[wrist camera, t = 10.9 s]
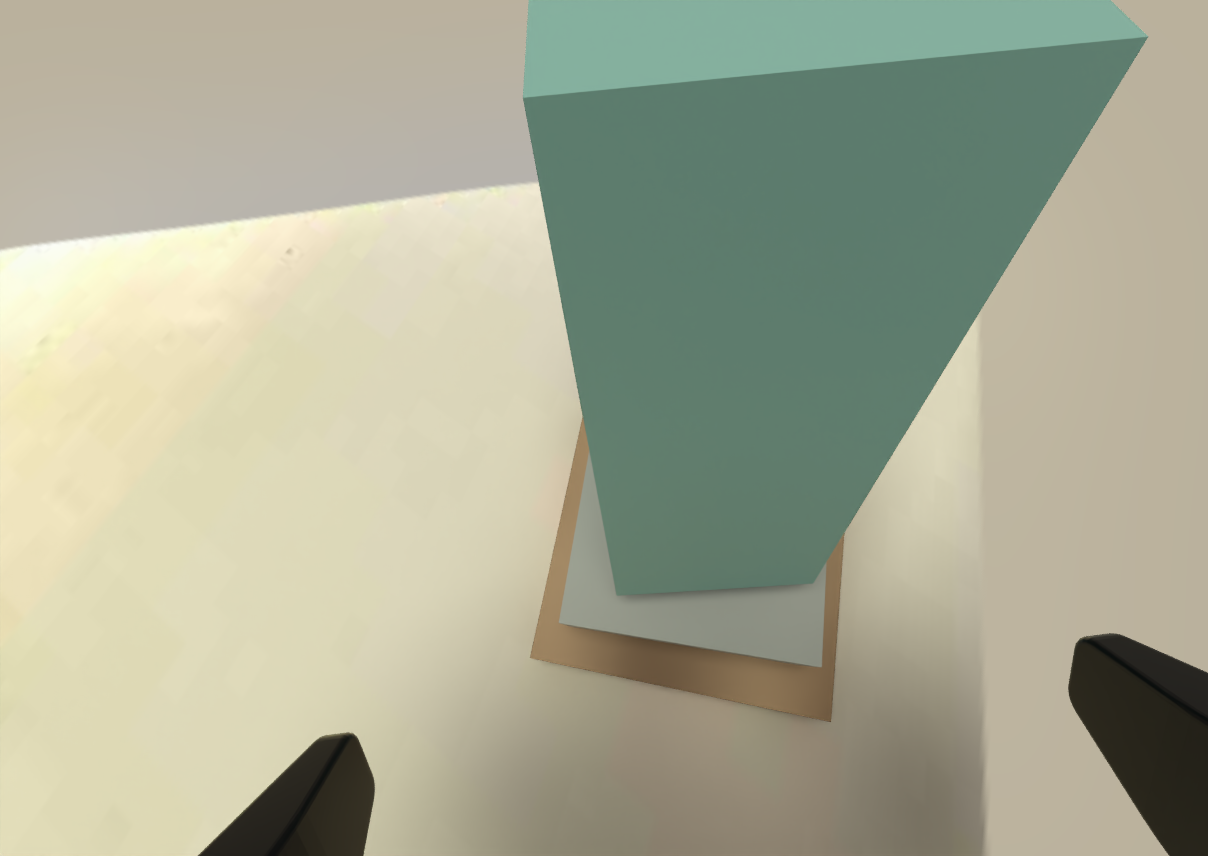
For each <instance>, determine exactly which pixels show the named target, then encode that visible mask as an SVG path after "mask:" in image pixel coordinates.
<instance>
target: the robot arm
mask: <svg viewBox="0 0 1208 856" xmlns="http://www.w3.org/2000/svg"><path fill="white" fill-rule="evenodd" d="M1068 690H1069V697H1070V700H1071V703H1072V705H1073V707H1074V709H1075V711H1076V713H1077V714H1078V716H1079V718H1080V719H1081V721H1082V722H1083V724H1084V725H1085V727H1086V729H1087V730H1088V732H1089V733H1090V735H1091V737H1092V738H1093V740H1094V741H1095V743H1096V744H1097V746H1098V748H1099V749H1100V751H1101V752H1102V754H1103V755H1104V757H1105V759H1106V760H1107V762H1108V763H1109V765H1110V766H1111V768H1112V770H1113V771H1114V773H1115V774H1116V776H1117V778H1118V779H1119V781H1120V782H1121V784H1122V786H1123V787H1124V789H1125V790H1126V792H1127V793H1128V795H1129V797H1130V798H1131V800H1132V801H1133V803H1134V804H1135V806H1136V808H1137V809H1138V811H1139V812H1140V814H1141V815H1142V817H1143V819H1144V820H1145V821H1146V823H1147V825H1148V826H1149V828H1150V829H1151V831H1152V832H1153V834H1154V835H1155V836H1156V838H1157V839H1158V841H1159V842H1160V844H1161V845H1162V846H1163V848H1164V849H1165V851H1166V852H1167V853H1168V855H1169V856H1208V673H1207V672H1204V671H1203V670H1200V669H1198V668H1196V667H1193V666H1191V665H1189V664H1187V663H1184V662H1182V661H1180V660H1178V659H1175V658H1173V657H1171V656H1168V655H1166V654H1164V653H1161V652H1159V651H1157V650H1155V649H1153V648H1150V647H1148V646H1146V645H1144V644H1141V643H1139V642H1137V641H1134V640H1132V639H1130V638H1127V637H1125V636H1122V635H1120V634H1111V633H1109V634H1102V635H1094V636H1086V637H1083V638H1080V639H1079V641H1078V642H1077V643H1076V645H1075V649H1074V655H1073V662H1072V667H1071V674H1070V679H1069V686H1068ZM374 794H375V783H374V778H373V774H372V772H371V769H370V767H369V764H368V762H367V759H366V757H365V754H364V752H363V749H362V747H361V744H360V742H359V740H358V738H357V736H355V735H354V734H353V733H349V732H348V733H340V734H333V735H325V736H322V737H320V738H319V739H317V740H316V741H315V742H314V743H313V744H312V745H311V746H310V747H309V748H308V749H307V750H305V751H304V752H303V753H302V754H301V755H300V756H299V757H298V758H297V759H296V760H295V761H294V762H293V763H292V764H291V765H290V766H289V767H288V768H287V769H286V770H285V771H284V772H283V773H282V774H281V775H280V776H279V777H278V778H277V779H276V780H275V781H274V782H273V783H272V784H271V785H270V786H269V787H268V788H267V789H266V790H265V791H264V792H262V793H261V794H260V795H259V796H258V797H257V798H256V799H255V800H254V801H253V802H252V803H251V804H250V805H249V806H248V807H247V808H246V809H245V810H244V811H243V812H242V813H241V814H240V815H239V816H238V817H237V818H236V819H235V820H234V821H233V822H232V823H231V824H230V825H229V826H228V827H227V828H226V829H225V830H224V831H223V832H222V833H221V834H219V835H218V836H217V837H216V838H215V839H214V840H213V841H212V842H211V843H210V844H209V845H208V846H207V847H206V848H205V849H204V850H203V851H202V852H201V853H200V854H199V855H198V856H363V855H364V849H365V844H366V839H367V833H368V828H369V823H370V817H371V812H372V806H373V801H374Z"/></svg>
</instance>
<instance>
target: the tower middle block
mask: <svg viewBox="0 0 1208 856" xmlns="http://www.w3.org/2000/svg"><path fill="white" fill-rule="evenodd" d="M826 563H827V562H826ZM826 563H825V565H824V567H823V568H822V570H821V572H820V573H819V575H818V576H817V578H816V580H815V581H814V583H813V584H797V585H781V586H765V587H749V588H732V589H716V590H700V591H684V592H668V593H652V594H636V595H620V596H617V595H616V590H615V584H614V579H613V574H612V568H611V563H610V558H609V552H608V547H607V542H606V537H605V531H604V526H603V521H602V515H601V510H600V505H599V499H598V494H597V489H596V483H595V478H594V473H593V467H592V462H591V457H590V451H589V455H588V460H587V466H586V472H585V477H584V483H583V488H582V494H581V500H580V505H579V511H578V517H577V522H576V528H575V534H574V539H573V545H572V550H571V556H570V562H569V567H568V573H567V579H566V584H565V590H564V596H563V601H562V607H561V612H560V618H559V623H560V624H564V625H567V626H571V627H576V628H582V629H588V630H594V631H600V632H606V633H612V634H618V635H624V636H630V637H635V638H641V639H647V640H653V641H659V642H665V643H671V644H677V645H683V646H689V647H695V648H700V649H706V650H712V651H718V652H724V653H730V654H736V655H742V656H748V657H754V658H759V659H765V660H771V661H777V662H783V663H789V664H795V665H801V666H811V667H822V651H823V629H824V607H825V585H826Z"/></svg>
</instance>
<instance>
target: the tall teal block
mask: <svg viewBox="0 0 1208 856" xmlns="http://www.w3.org/2000/svg"><path fill="white" fill-rule="evenodd" d="M1147 38H1148V36H1147V35H1146V34H1145V33H1144V32H1143V31H1142V30H1141V29H1140V28H1139V27H1138V26H1137V25H1135V23H1134V22H1132V21H1131V20H1130V19H1129V18H1128V17H1127V16H1126V15H1125V14H1124V13H1123V12H1122V11H1121V10H1120V9H1119V8H1118V7H1117V6H1116V5H1115V4H1114V3H1113V2H1112V1H1111V0H529V5H528V22H527V39H526V56H525V73H524V89H523V100H524V105H525V111H526V116H527V122H528V127H529V132H530V138H531V143H532V148H533V154H534V159H535V164H536V170H537V175H538V180H539V186H540V191H541V196H542V202H543V207H544V212H545V217H546V223H547V228H548V233H549V239H550V244H551V249H552V255H553V260H554V265H555V271H556V276H557V281H558V287H559V292H560V297H561V303H562V308H563V313H564V319H565V324H566V329H567V334H568V340H569V345H570V350H571V356H572V361H573V366H574V372H575V377H576V382H577V388H578V393H579V398H580V404H581V409H582V414H583V420H584V425H585V430H586V435H587V441H588V446H589V451H590V457H591V462H592V467H593V473H594V478H595V483H596V489H597V494H598V499H599V505H600V510H601V515H602V521H603V526H604V531H605V537H606V542H607V547H608V552H609V558H610V563H611V568H612V574H613V579H614V584H615V590H616V595H617V596H620V595H636V594H652V593H668V592H684V591H700V590H716V589H732V588H749V587H765V586H781V585H797V584H813V583H814V581H815V580H816V578H817V576H818V575H819V573H820V572H821V570H822V568H823V567H824V565H825V563H826V562H827V560H828V558H829V557H830V555H831V554H832V552H833V550H834V549H835V547H836V545H837V544H838V542H839V541H840V539H841V537H842V536H843V534H844V532H845V531H846V529H847V527H848V526H849V524H850V523H851V521H852V519H853V518H854V516H855V514H856V513H857V511H858V510H859V508H860V506H861V505H862V503H863V501H864V500H865V498H866V496H867V495H868V493H869V492H870V490H871V488H872V487H873V485H874V483H875V482H876V480H877V479H878V477H879V475H880V474H881V472H882V470H883V469H884V467H885V465H886V464H887V462H888V461H889V459H890V457H891V456H892V454H893V452H894V451H895V449H896V448H897V446H898V444H899V443H900V441H901V439H902V438H903V436H904V434H905V433H906V431H907V430H908V428H909V426H910V425H911V423H912V421H913V420H914V418H915V417H916V415H917V413H918V412H919V410H920V408H921V407H922V405H923V403H924V402H925V400H926V399H927V397H928V395H929V394H930V392H931V390H932V389H933V387H934V386H935V384H936V382H937V381H938V379H939V377H940V376H941V374H942V372H943V371H944V369H945V368H946V366H947V364H948V363H949V361H950V359H951V358H952V356H953V355H954V353H955V351H956V350H957V348H958V346H959V345H960V343H961V341H962V340H963V338H964V337H965V335H966V333H967V332H968V330H969V328H970V327H971V325H972V324H973V322H974V320H975V319H976V317H977V315H978V314H979V312H980V310H981V309H982V307H983V306H984V304H985V302H986V301H987V299H988V297H989V296H990V294H991V292H992V291H993V289H994V288H995V286H996V284H997V283H998V281H999V279H1000V278H1001V276H1002V275H1003V273H1004V271H1005V270H1006V268H1007V266H1008V265H1009V263H1010V262H1011V260H1012V258H1013V257H1014V255H1015V253H1016V252H1017V250H1018V248H1019V247H1020V245H1021V244H1022V242H1023V240H1024V239H1025V237H1026V235H1027V233H1028V232H1029V231H1030V229H1031V227H1032V226H1033V224H1034V222H1035V221H1036V219H1037V217H1038V216H1039V214H1040V213H1041V211H1042V209H1043V208H1044V206H1045V204H1046V202H1047V201H1048V199H1049V198H1050V196H1051V194H1052V193H1053V191H1054V190H1055V188H1056V186H1057V185H1058V183H1059V182H1060V180H1061V178H1062V177H1063V175H1064V173H1065V172H1066V170H1067V168H1068V167H1069V165H1070V164H1071V162H1072V160H1073V159H1074V157H1075V155H1076V154H1077V152H1078V151H1079V149H1080V147H1081V146H1082V144H1083V142H1084V141H1085V139H1086V137H1087V136H1088V134H1089V133H1090V131H1091V129H1092V128H1093V126H1094V124H1095V123H1096V121H1097V120H1098V118H1099V116H1100V115H1101V113H1102V111H1103V110H1104V108H1105V106H1106V105H1107V103H1108V102H1109V100H1110V98H1111V97H1112V95H1113V93H1114V91H1115V90H1116V89H1117V87H1118V85H1119V84H1120V82H1121V80H1122V79H1123V77H1124V75H1125V74H1126V72H1127V70H1128V69H1129V67H1130V66H1131V64H1132V62H1133V61H1134V59H1135V58H1136V56H1137V54H1138V53H1139V51H1140V49H1141V48H1142V46H1143V44H1144V43H1145V41H1146V39H1147Z"/></svg>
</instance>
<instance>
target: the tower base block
mask: <svg viewBox="0 0 1208 856" xmlns="http://www.w3.org/2000/svg"><path fill="white" fill-rule="evenodd" d="M588 455H589V446H588V441H587V435H586V430H585V425H584V420H583V418H582V423H581V427H580V432H579V436H578V441H577V446H576V450H575V455H574V459H573V464H572V468H571V473H570V478H569V482H568V487H567V491H566V496H565V500H564V505H563V510H562V514H561V519H560V523H559V528H558V532H557V537H556V542H555V546H554V551H553V555H552V560H551V564H550V569H549V574H548V578H547V583H546V587H545V592H544V596H543V601H542V606H541V610H540V615H539V619H538V624H537V628H536V633H535V638H534V642H533V647H532V651H531V656H530V658H533V659H538V660H542V661H547V662H552V663H556V664H561V665H566V666H571V667H575V668H580V669H585V670H589V671H594V672H599V673H603V674H608V675H613V676H618V677H622V678H627V679H632V680H636V681H641V682H646V683H650V684H655V685H660V686H664V687H669V688H674V689H679V690H683V691H688V692H693V693H697V694H702V695H707V696H711V697H716V698H721V699H725V700H730V701H735V702H740V703H744V704H749V705H754V706H758V707H763V708H768V709H772V710H777V711H782V712H787V713H791V714H796V715H801V716H805V717H810V718H815V719H819V720H824V721H829V722H831V714H832V700H833V686H834V672H835V657H836V643H837V629H838V615H839V601H840V586H841V572H842V558H843V544H844V534H843V536H842V537H841V539H840V541H839V542H838V544H837V545H836V547H835V549H834V550H833V552H832V554H831V555H830V557H829V558H828V560H827V563H826V585H825V607H824V629H823V651H822V667H811V666H801V665H795V664H789V663H783V662H777V661H771V660H765V659H759V658H754V657H748V656H742V655H736V654H730V653H724V652H718V651H712V650H706V649H700V648H695V647H689V646H683V645H677V644H671V643H665V642H659V641H653V640H647V639H641V638H635V637H630V636H624V635H618V634H612V633H606V632H600V631H594V630H588V629H582V628H576V627H571V626H567V625H564V624H560V623H559V618H560V612H561V607H562V601H563V596H564V590H565V584H566V579H567V573H568V567H569V562H570V556H571V550H572V545H573V539H574V534H575V528H576V522H577V517H578V511H579V505H580V500H581V494H582V488H583V483H584V477H585V472H586V466H587V460H588Z"/></svg>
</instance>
